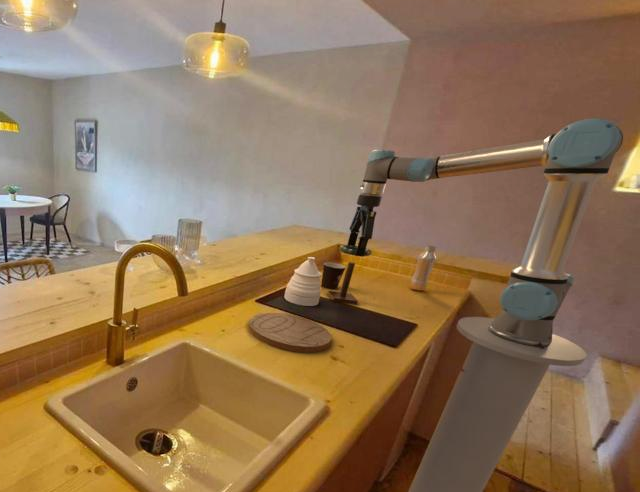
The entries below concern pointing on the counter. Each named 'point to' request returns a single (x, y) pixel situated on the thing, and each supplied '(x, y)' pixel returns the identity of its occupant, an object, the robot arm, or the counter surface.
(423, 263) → the plastic bottle
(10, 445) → the counter surface
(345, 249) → the ring
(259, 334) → the trivet
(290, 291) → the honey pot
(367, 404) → the counter surface
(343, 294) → the post
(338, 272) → the coffee mug
